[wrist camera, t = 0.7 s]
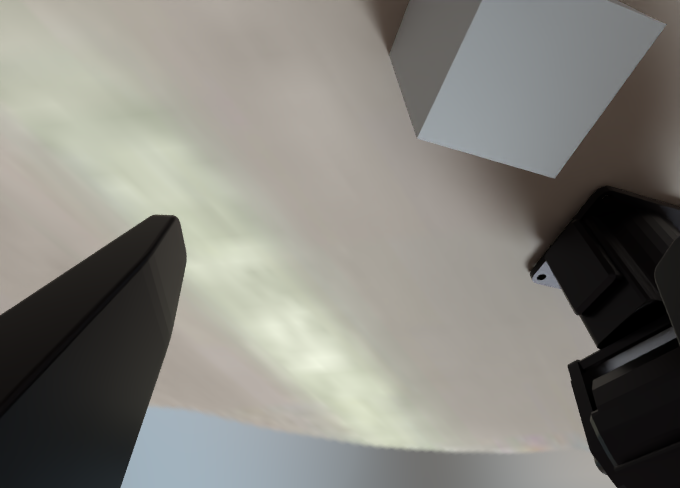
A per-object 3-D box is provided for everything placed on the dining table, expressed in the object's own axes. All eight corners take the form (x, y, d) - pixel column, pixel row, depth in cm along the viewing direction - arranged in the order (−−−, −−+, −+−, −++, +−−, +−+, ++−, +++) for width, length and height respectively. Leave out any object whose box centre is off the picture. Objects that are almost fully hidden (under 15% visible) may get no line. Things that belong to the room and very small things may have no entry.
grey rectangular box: (553, -31, 16) (666, 24, 11) (489, 87, 19) (554, 178, 14) (439, -79, 15) (501, -43, 10) (388, 54, 18) (417, 138, 13)
